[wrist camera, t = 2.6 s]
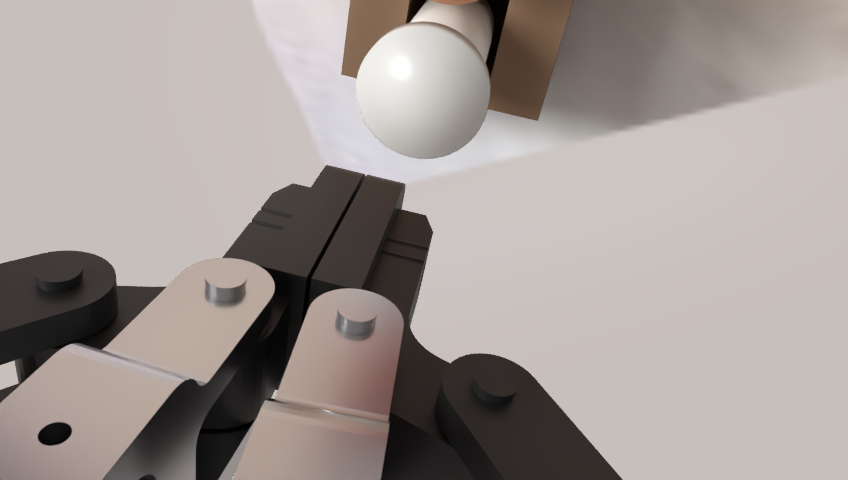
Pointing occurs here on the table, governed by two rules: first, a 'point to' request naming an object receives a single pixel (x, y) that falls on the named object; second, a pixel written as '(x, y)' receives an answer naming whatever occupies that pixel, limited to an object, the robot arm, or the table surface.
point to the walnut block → (509, 71)
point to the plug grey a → (429, 80)
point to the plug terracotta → (454, 1)
